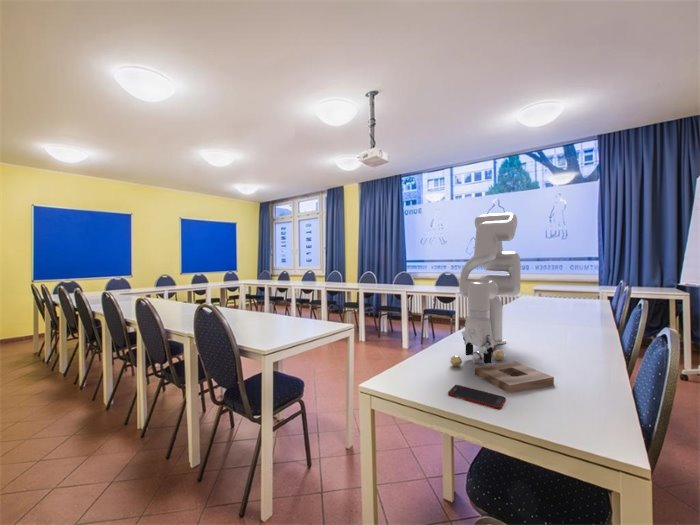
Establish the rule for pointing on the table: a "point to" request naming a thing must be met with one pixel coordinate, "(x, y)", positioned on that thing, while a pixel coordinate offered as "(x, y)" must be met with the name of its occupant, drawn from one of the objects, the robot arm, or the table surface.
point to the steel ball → (478, 357)
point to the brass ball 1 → (456, 361)
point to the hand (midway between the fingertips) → (478, 358)
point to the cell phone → (477, 396)
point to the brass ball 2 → (498, 355)
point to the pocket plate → (522, 381)
